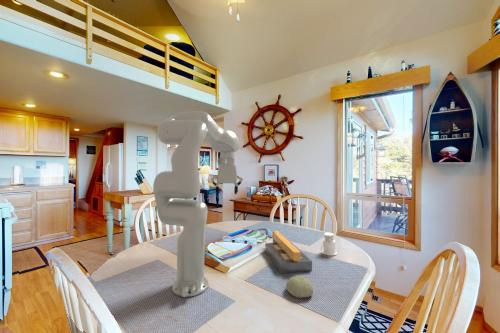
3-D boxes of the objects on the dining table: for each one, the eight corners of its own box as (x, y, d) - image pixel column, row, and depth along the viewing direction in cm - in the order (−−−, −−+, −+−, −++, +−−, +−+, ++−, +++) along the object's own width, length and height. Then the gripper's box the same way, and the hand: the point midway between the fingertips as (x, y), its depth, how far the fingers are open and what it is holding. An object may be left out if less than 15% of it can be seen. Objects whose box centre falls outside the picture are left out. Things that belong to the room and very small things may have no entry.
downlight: (335, 250, 117) (335, 231, 117) (339, 256, 110) (339, 236, 110) (320, 250, 117) (319, 231, 117) (323, 256, 110) (322, 236, 110)
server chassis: (311, 270, 94) (312, 259, 94) (280, 273, 91) (281, 262, 91) (286, 245, 123) (286, 237, 123) (262, 247, 120) (262, 238, 120)
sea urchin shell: (291, 276, 85) (305, 266, 81) (305, 296, 82) (320, 287, 78) (279, 286, 78) (294, 276, 74) (293, 309, 75) (309, 299, 71)
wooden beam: (301, 260, 93) (301, 252, 93) (293, 260, 92) (293, 252, 92) (277, 236, 122) (277, 230, 122) (271, 237, 122) (271, 230, 121)
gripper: (211, 161, 112) (210, 195, 112) (244, 162, 117) (243, 194, 117) (210, 161, 120) (209, 193, 120) (241, 162, 124) (241, 192, 124)
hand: (226, 194), depth 118 cm, fingers open, 9 cm apart
